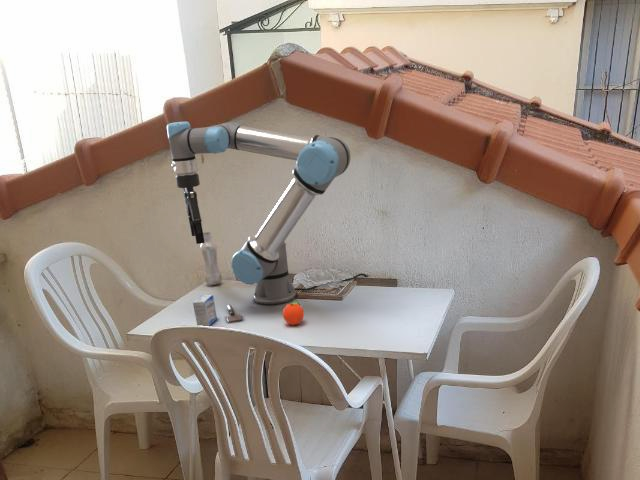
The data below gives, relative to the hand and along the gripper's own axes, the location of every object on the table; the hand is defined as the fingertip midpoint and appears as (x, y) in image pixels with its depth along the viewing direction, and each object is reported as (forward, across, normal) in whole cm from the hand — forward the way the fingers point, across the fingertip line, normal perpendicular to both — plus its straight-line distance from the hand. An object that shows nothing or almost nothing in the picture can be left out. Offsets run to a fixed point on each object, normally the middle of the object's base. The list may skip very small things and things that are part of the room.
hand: (198, 239), depth 238 cm
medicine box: (+25, +16, -3) cm, 30 cm away
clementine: (+25, +32, +24) cm, 47 cm away
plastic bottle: (+25, -30, +6) cm, 39 cm away
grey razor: (+24, +13, +6) cm, 28 cm away
